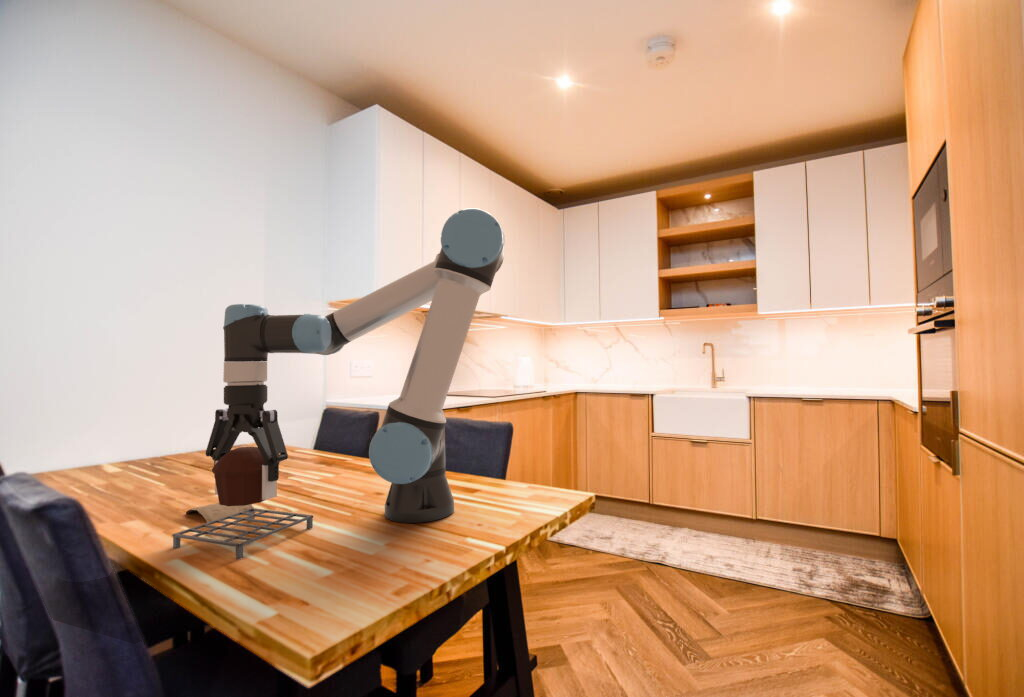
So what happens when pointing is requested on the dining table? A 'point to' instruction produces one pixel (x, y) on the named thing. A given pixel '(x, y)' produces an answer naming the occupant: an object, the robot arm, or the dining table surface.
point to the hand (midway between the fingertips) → (245, 495)
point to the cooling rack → (250, 518)
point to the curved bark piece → (219, 511)
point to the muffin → (239, 477)
